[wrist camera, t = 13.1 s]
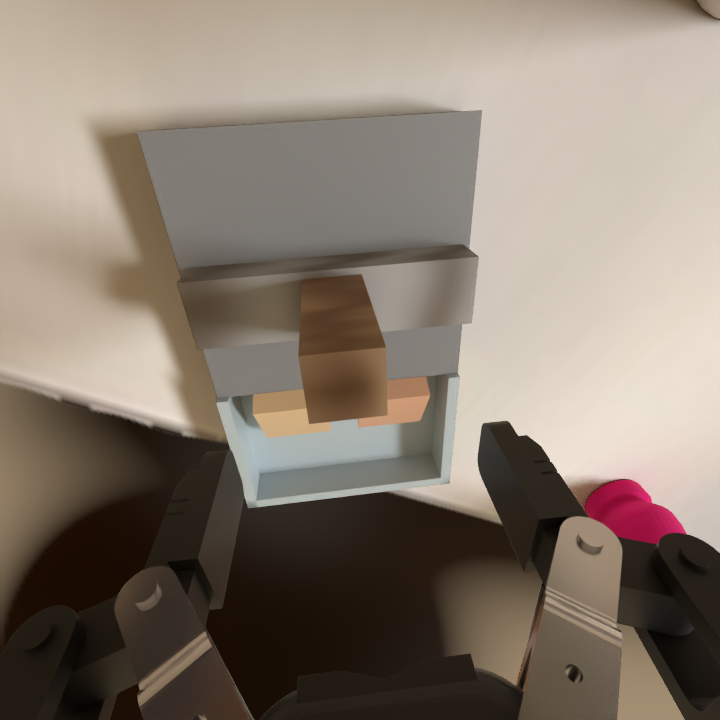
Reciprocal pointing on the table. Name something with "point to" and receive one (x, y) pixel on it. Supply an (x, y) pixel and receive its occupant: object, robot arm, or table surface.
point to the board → (317, 214)
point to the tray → (343, 452)
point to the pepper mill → (631, 512)
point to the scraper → (332, 314)
